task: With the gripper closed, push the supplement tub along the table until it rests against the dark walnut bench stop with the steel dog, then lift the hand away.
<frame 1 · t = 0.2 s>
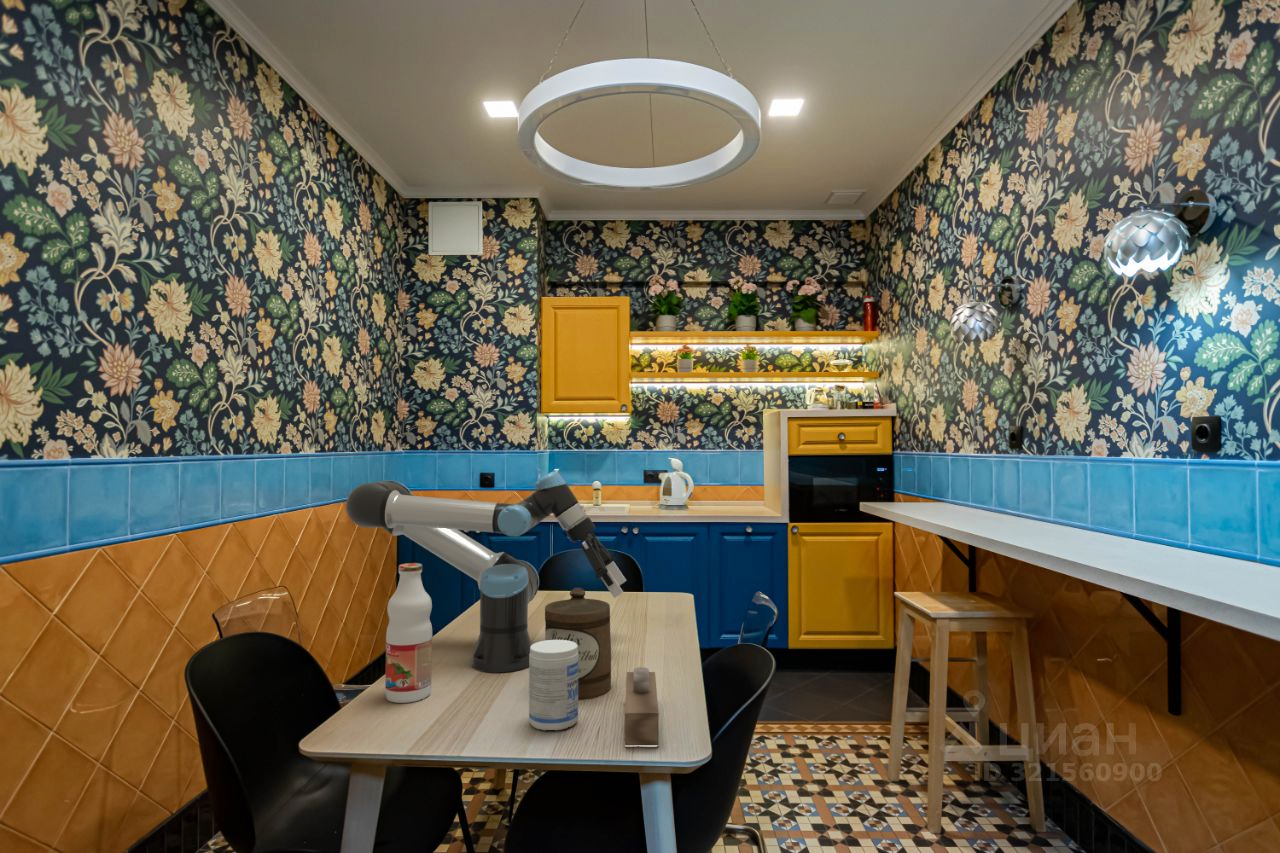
hand: (620, 589, 177), 16 cm above the table, tool tilted 35°, fingers open, 13 cm apart
wooden container: (577, 688, 146), on the table
supplement tub: (553, 723, 127), on the table
bench stop: (641, 722, 127), on the table
fruit juice: (408, 696, 141), on the table
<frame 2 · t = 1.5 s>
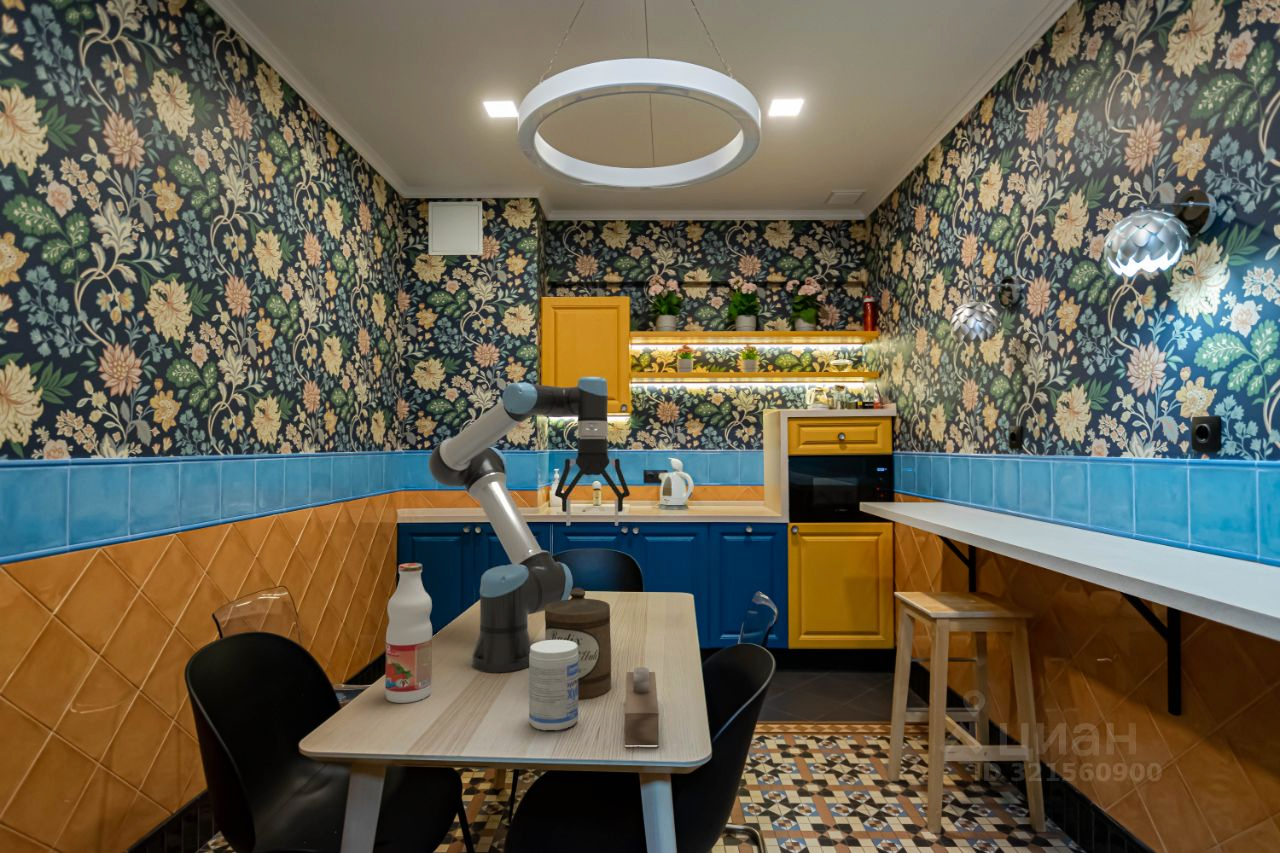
hand: (592, 525, 165), 34 cm above the table, tool pointing down, fingers open, 11 cm apart
nothing on the table moved.
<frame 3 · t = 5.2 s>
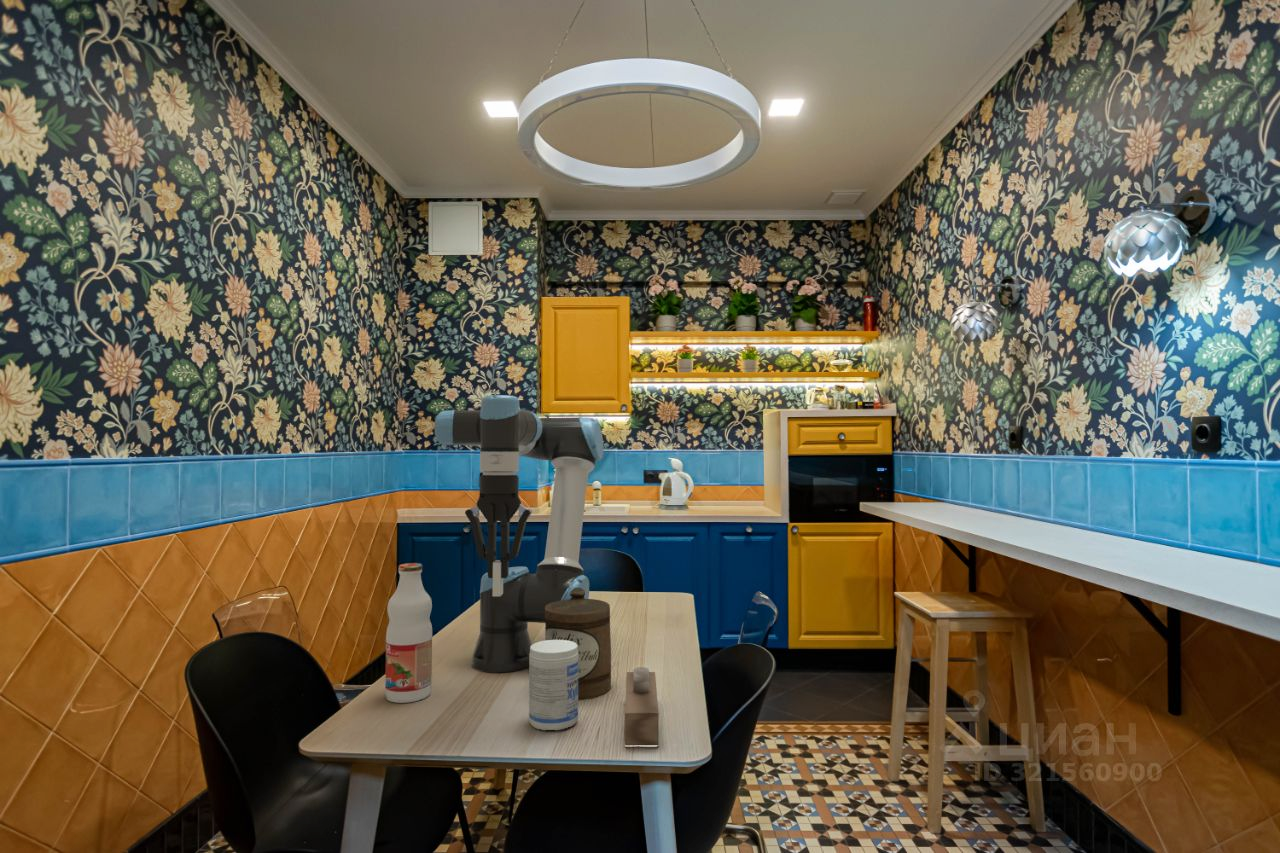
hand: (497, 594, 128), 25 cm above the table, tool pointing down, fingers closed
nothing on the table moved.
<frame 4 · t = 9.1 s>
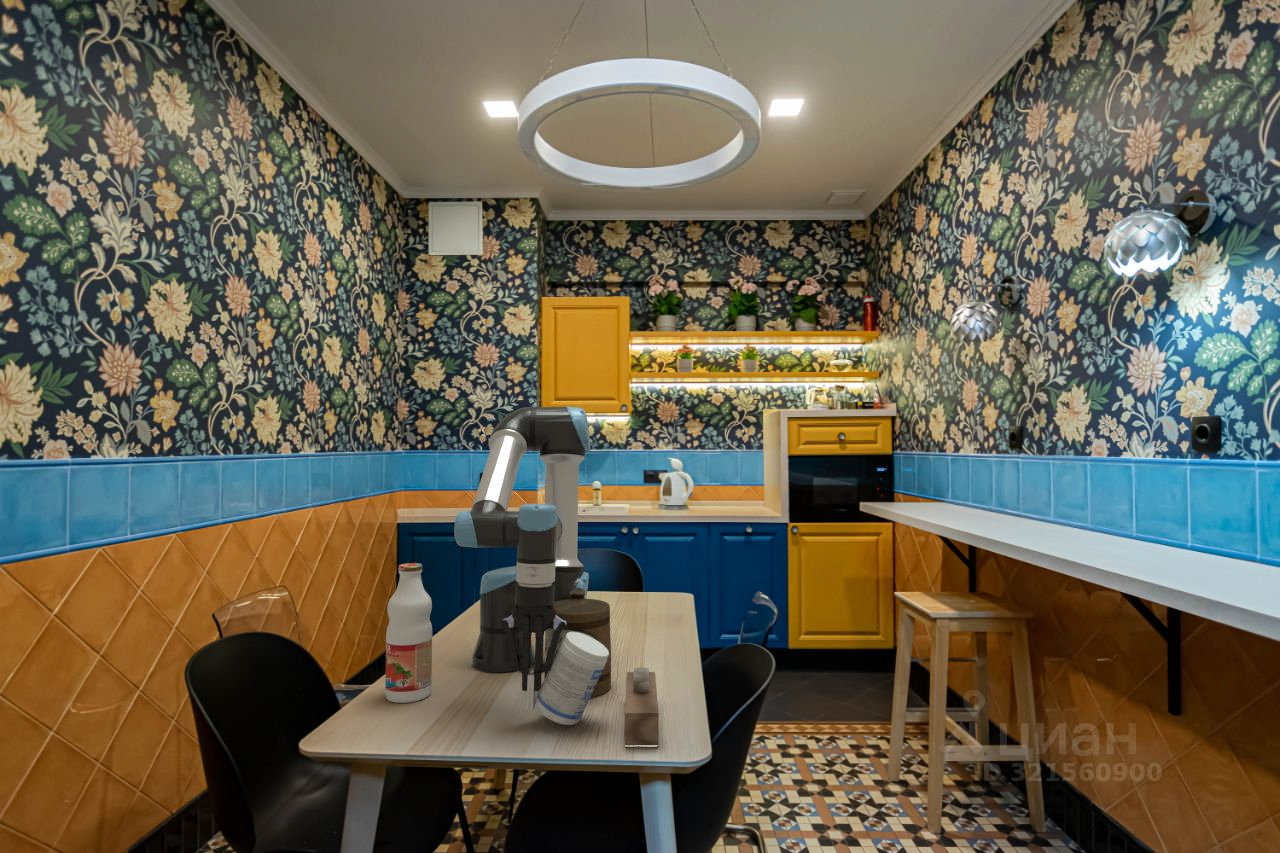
hand: (530, 707, 126), 3 cm above the table, tool pointing down, fingers closed
supplement tub: (555, 713, 127), point 2 cm above the table, touching gripper, hand
everything else where it was.
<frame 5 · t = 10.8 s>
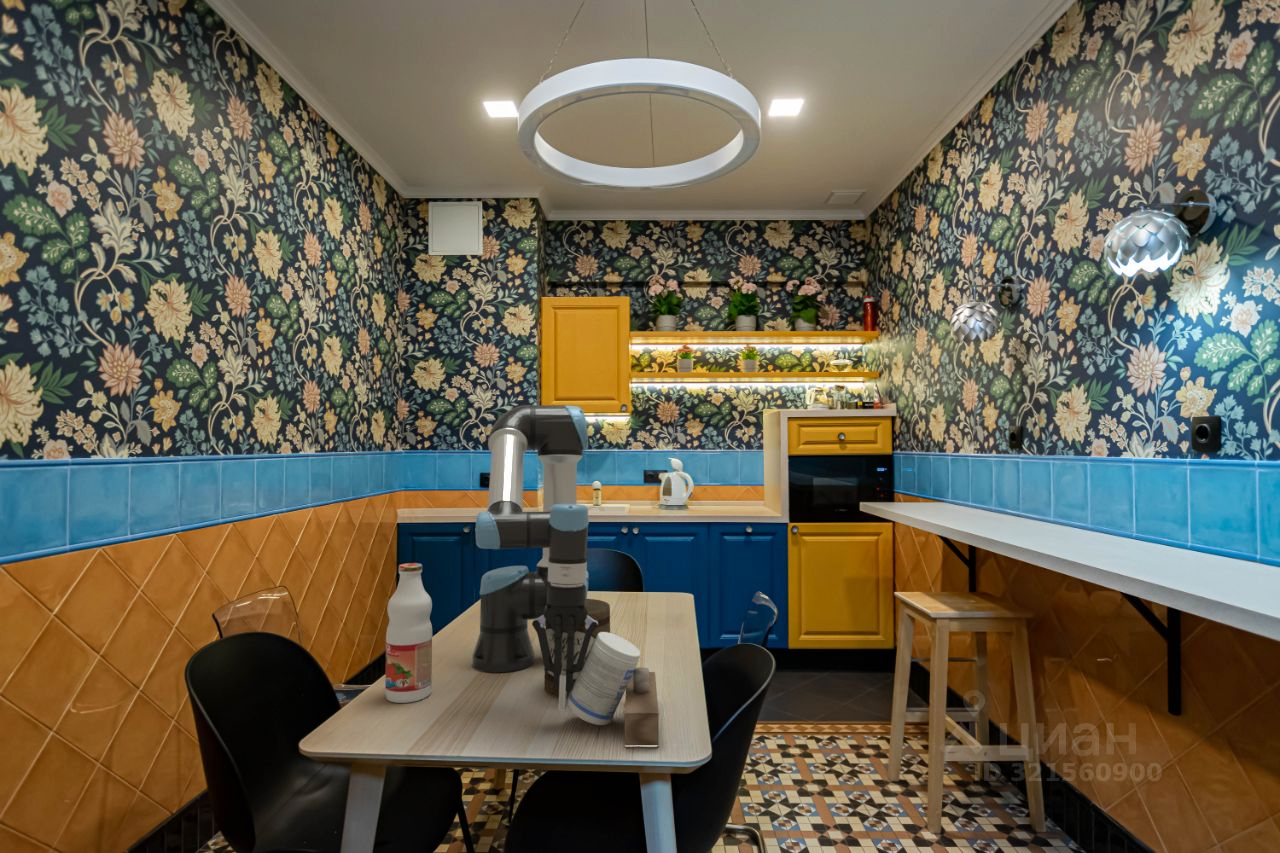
hand: (562, 707, 126), 3 cm above the table, tool pointing down, fingers closed
supplement tub: (586, 713, 127), point 2 cm above the table, touching gripper, hand
everything else where it was.
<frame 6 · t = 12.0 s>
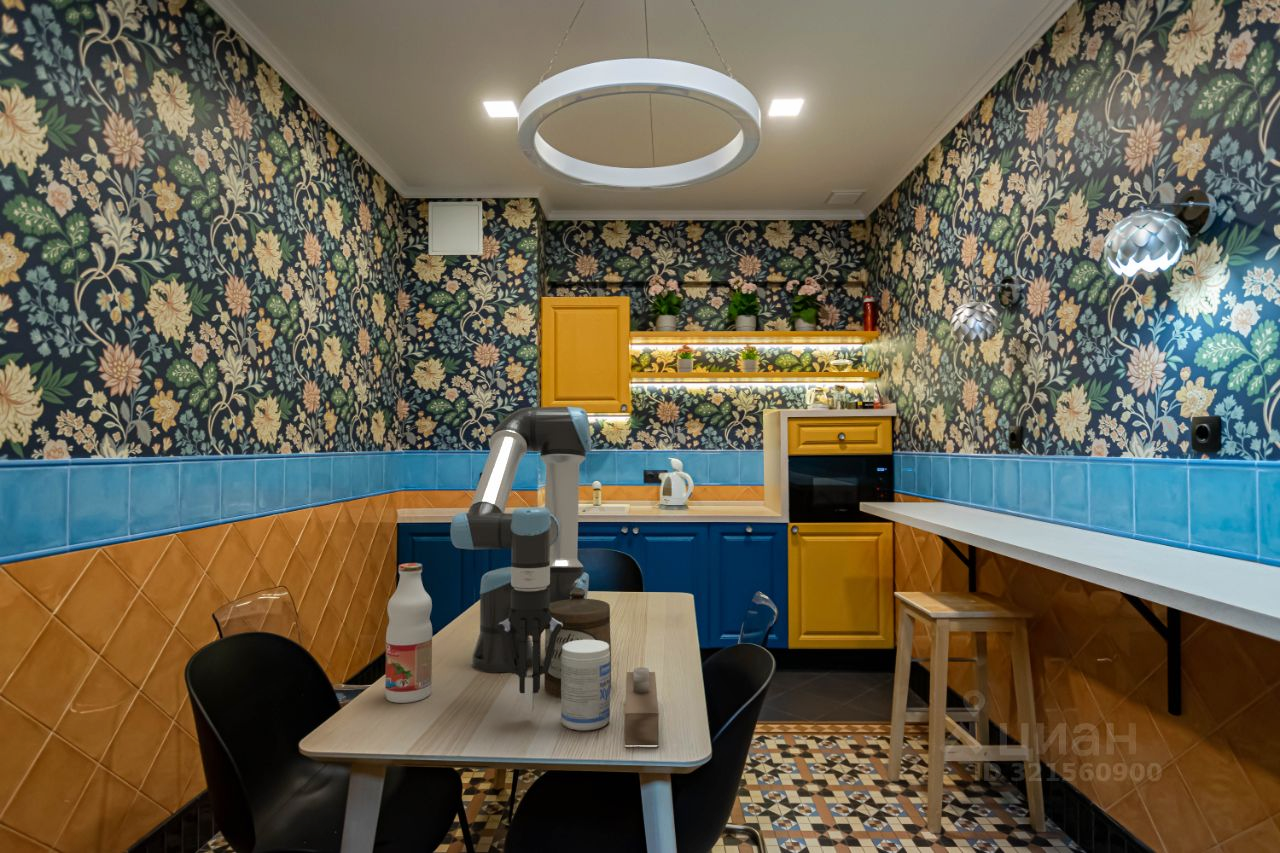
hand: (529, 709, 127), 2 cm above the table, tool pointing down, fingers closed
supplement tub: (585, 723, 127), on the table
everything else where it was.
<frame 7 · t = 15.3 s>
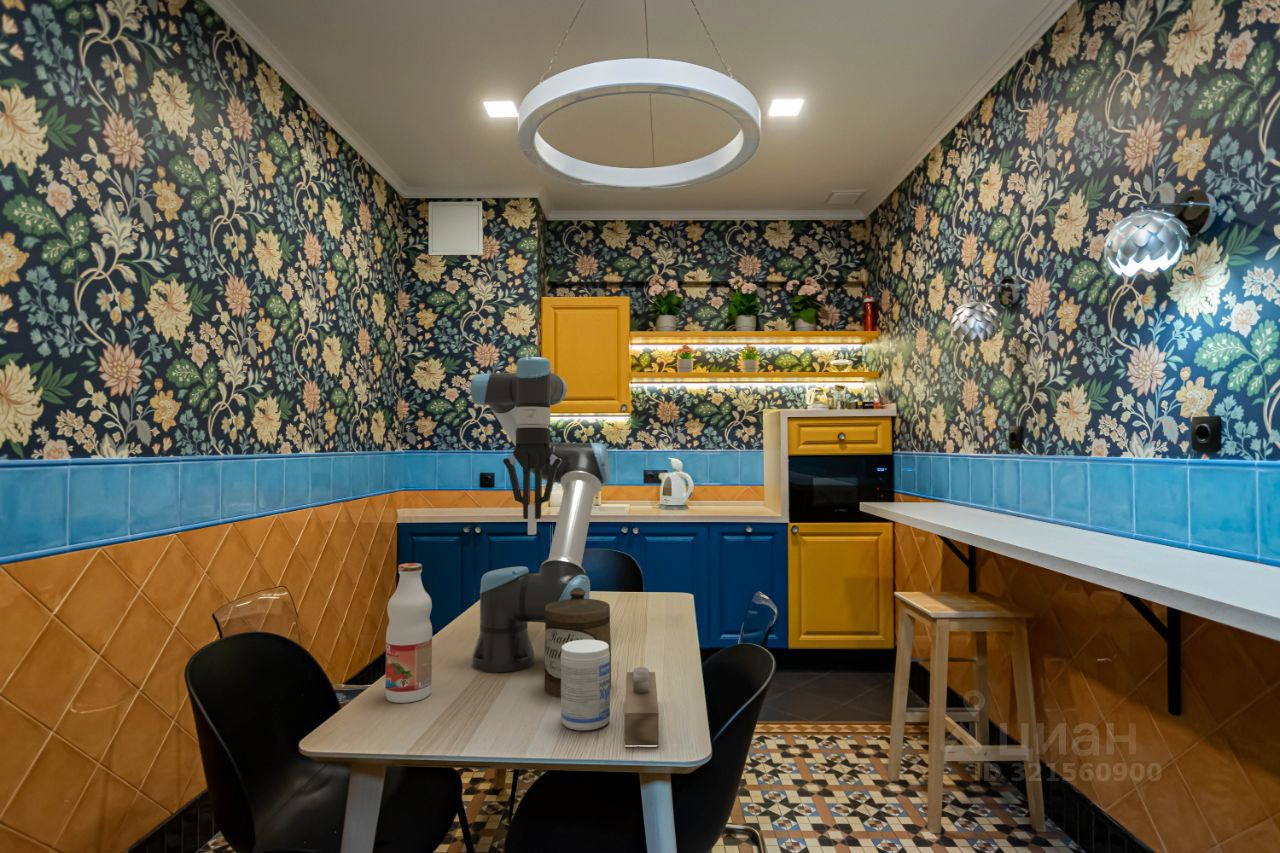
hand: (532, 533, 145), 34 cm above the table, tool pointing down, fingers closed
nothing on the table moved.
at the end: supplement tub inside the target area (0.8 cm from its centre), on the table; supplement tub tilted 0°; supplement tub moved 6.2 cm from its start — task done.
